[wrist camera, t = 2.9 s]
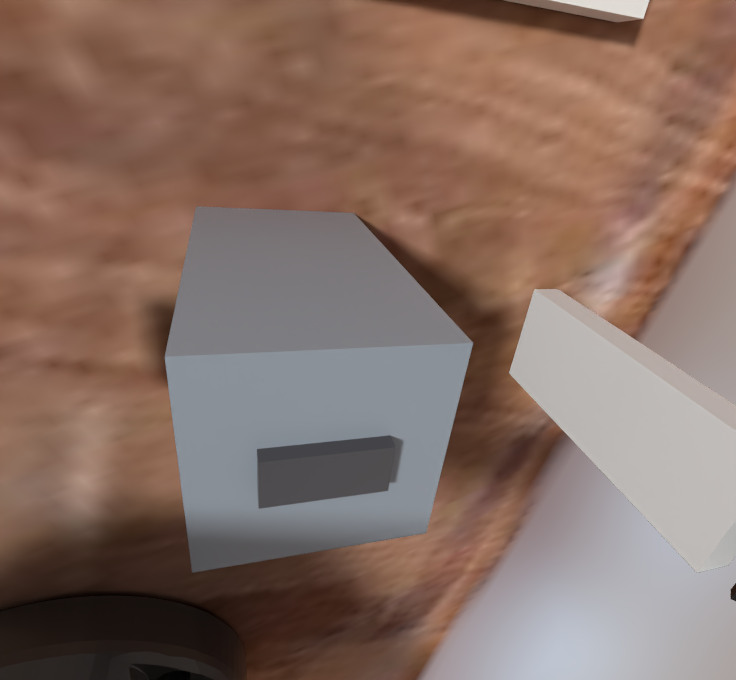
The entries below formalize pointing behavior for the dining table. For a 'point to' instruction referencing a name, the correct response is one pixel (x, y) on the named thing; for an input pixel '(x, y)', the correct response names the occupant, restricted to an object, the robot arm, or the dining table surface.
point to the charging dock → (595, 8)
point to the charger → (305, 387)
